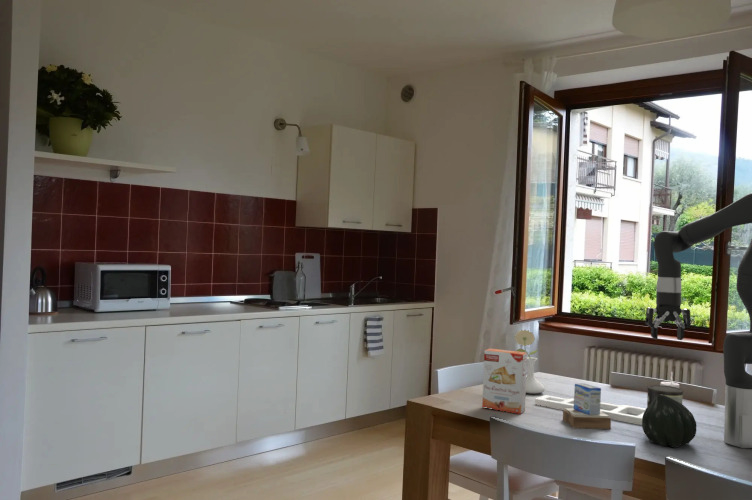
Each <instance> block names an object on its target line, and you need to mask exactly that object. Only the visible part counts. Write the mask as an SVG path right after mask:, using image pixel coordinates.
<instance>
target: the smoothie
mask: <svg viewBox="0 0 752 500" xmlns="http://www.w3.org/2000/svg"><path fill="white" fill-rule="evenodd" d="M673 375H674V372H673V371H670V381H660V384H659V385H665V386H672V387H677V388H680V384H679V383H677V382H674V381H673Z"/></svg>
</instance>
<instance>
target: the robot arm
mask: <svg viewBox="0 0 752 500" xmlns="http://www.w3.org/2000/svg"><path fill="white" fill-rule="evenodd" d="M749 224H752V192H750V193H747V194H746V195H744V196H742V197H740V198H739V199H736V200H735V201H733V202H732V203H730V204H729V205H727V206H725V207H723V208H721V209H719V210H718V211H716V212H713V213H711V214H709V215H706V216H703V217H701V218H699V219H696V220H694V221H690V222H688V223H686V224H684V225H683V226H682V227H681V228H680V230H676V231H669V230H663V231H660V232H658V233H656V235H655V237H654V240H653V249H654V253H655V258H656V261H657V262H656V263H657V265H658V266H657V281H656V287H655V288H656V297H655V298H656V300H655V301H656V302H655V303H656V307H655V308H653V307H649V306H648V307H646V310H645V311H646V313H645V322H644V324H645V325H646V326H648V327H650V336H651V337H652V340H658V338H659V337H658V335H659V334H658V333H659V332H658V331H659V328H658V327H659V325H661V324H662V323H663V322H673V323H675V325H676V326H677V327H678V328H677V331H676V339H677V340H678V341H683V339H684V338H685V329H686V328H690V327H691V309H690V308H681V305H682V279H681V278H682V263H681V261H679V260H678V259H675V256H674V253H681V252H683V251H686V250H688V249H690V248H691V247H693V246H694V245H696V244H700V243H702V242H705V241H708V240H711V239H713V238H714V237H716V236H718V235H720V234H721V233H722V232H725V231H726V230H728V229H731V228H734V227H738V226H741V225H742V226H743V225H749ZM736 275H737V276H736V286H735V287H736V291H737V295H738V297H739V299H740V300H741V302H742V303H743V306H744V307H745V309H746V311H747V313H748V317H749V331H748V332H730V333H728V334H727V335H726V336H725V338H724V340H723V349H722V350H723V353H722V354H723V375H724V379H725V391H724V392H725V393H724V421H723V422H724V424H723V425H724V426H723V428H724V433H723V442H724V443H726V444H728V445H731V446H735V447H739V448H741V449H752V374H750V373H749V372H748V371H746V368H745V365H752V238H751V239H750V243H749V245H748V246H747V248H746V250H745V251H744V254H743V255H742V258H741V260H740V262H739V265H738V268H737V274H736ZM655 313H656V316H655V317H654V315H655ZM680 315H682V318H681V317H680Z"/></svg>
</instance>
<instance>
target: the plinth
mask: <svg viewBox="0 0 752 500" xmlns="http://www.w3.org/2000/svg"><path fill="white" fill-rule="evenodd" d="M562 421H564V422H565V423H566V424H568V426H570V427H571V428H573V429H590V430H591V429H592V430H593V429H595V430H601V429H602V430H610V429H612V427H611V425H612V419H611V418H610V417H609V416H608V415H606V414H605V413H603V412H601V411H600V414H598V415H588V414H585V413H582V412H579V411H576V410H574V409H572V408H565V410H562Z"/></svg>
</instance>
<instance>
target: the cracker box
mask: <svg viewBox="0 0 752 500" xmlns="http://www.w3.org/2000/svg"><path fill="white" fill-rule="evenodd" d="M527 353H528V352H527ZM527 353H526V351H525V352H517V350H515V351H514V350H508V349H507V350H506V349H499V348H490V347H489V348H487V349H485V350H484V353H483V379H482V380H483V381H482V403H481V405H482V407H487V408H492V409H495V410H494V411H498V410H500V411H499V412H504V411H506V412H505V413H510V412H511V413H512V414H517V415H521V414H522V413H524V412H525V411H526V394H527V393H526V377H527V366H528V364H527V357H528V355H527ZM511 413H510V414H511Z"/></svg>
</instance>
